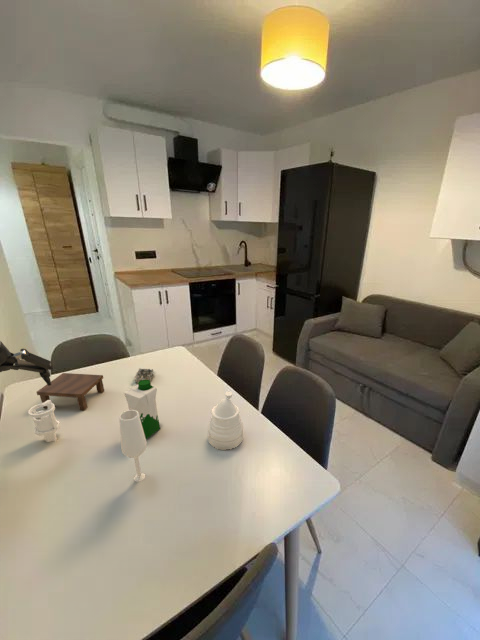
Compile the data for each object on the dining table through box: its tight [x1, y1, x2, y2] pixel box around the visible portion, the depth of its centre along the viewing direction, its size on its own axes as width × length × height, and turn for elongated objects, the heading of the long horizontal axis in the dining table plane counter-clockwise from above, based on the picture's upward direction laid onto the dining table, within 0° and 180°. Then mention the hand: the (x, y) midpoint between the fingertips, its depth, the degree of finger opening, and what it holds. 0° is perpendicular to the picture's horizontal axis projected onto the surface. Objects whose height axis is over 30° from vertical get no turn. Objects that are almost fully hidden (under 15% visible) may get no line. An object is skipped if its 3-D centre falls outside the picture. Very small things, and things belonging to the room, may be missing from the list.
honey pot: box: [207, 391, 244, 451], centre depth 103 cm, size 13×13×18 cm
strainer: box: [27, 399, 61, 443], centre depth 98 cm, size 7×7×15 cm
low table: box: [36, 372, 105, 411], centre depth 123 cm, size 18×16×8 cm
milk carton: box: [123, 380, 161, 440], centre depth 104 cm, size 9×9×20 cm
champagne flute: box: [118, 409, 148, 482], centre depth 83 cm, size 7×7×24 cm
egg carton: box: [134, 367, 154, 385], centre depth 142 cm, size 11×8×4 cm
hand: (23, 390), depth 87 cm, fingers open, 13 cm apart
